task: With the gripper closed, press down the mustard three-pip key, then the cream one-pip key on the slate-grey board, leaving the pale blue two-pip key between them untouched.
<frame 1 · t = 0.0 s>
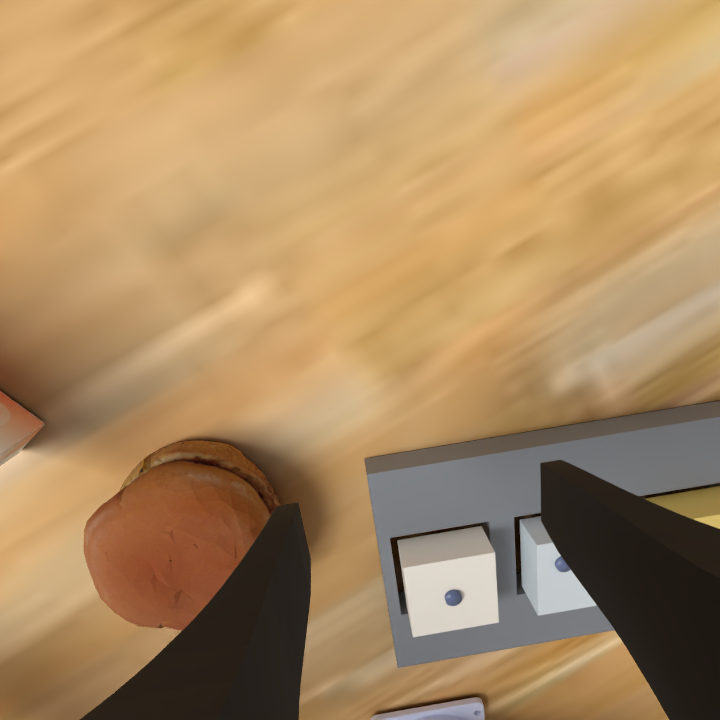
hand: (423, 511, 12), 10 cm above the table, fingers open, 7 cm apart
tile one: (448, 582, 22), point 2 cm above the table, slide at 0.0 cm
burger: (206, 511, 23), on the table
tile three: (693, 540, 23), point 2 cm above the table, slide at 0.0 cm
board: (548, 530, 25), on the table
tile two: (571, 561, 23), point 2 cm above the table, slide at 0.0 cm
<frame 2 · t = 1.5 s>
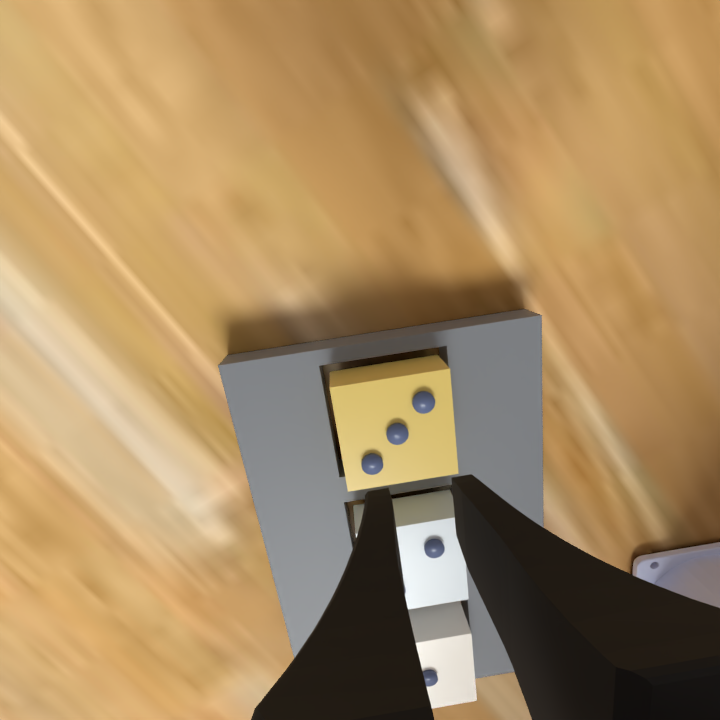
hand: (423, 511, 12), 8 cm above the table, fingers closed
tile one: (424, 658, 22), point 2 cm above the table, slide at 0.0 cm
tile three: (393, 423, 17), point 3 cm above the table, slide at 0.0 cm
board: (402, 518, 22), on the table
tile two: (410, 553, 20), point 3 cm above the table, slide at 0.0 cm
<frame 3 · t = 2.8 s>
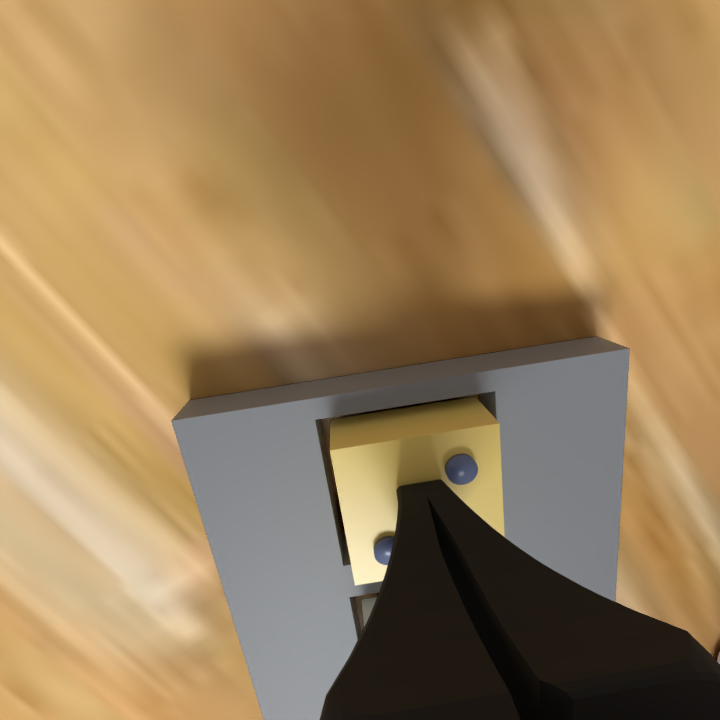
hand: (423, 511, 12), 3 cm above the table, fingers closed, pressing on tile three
tile three: (417, 490, 13), point 2 cm above the table, slide at 0.5 cm, touching gripper
board: (424, 605, 17), on the table
tile two: (439, 666, 14), point 3 cm above the table, slide at 0.0 cm
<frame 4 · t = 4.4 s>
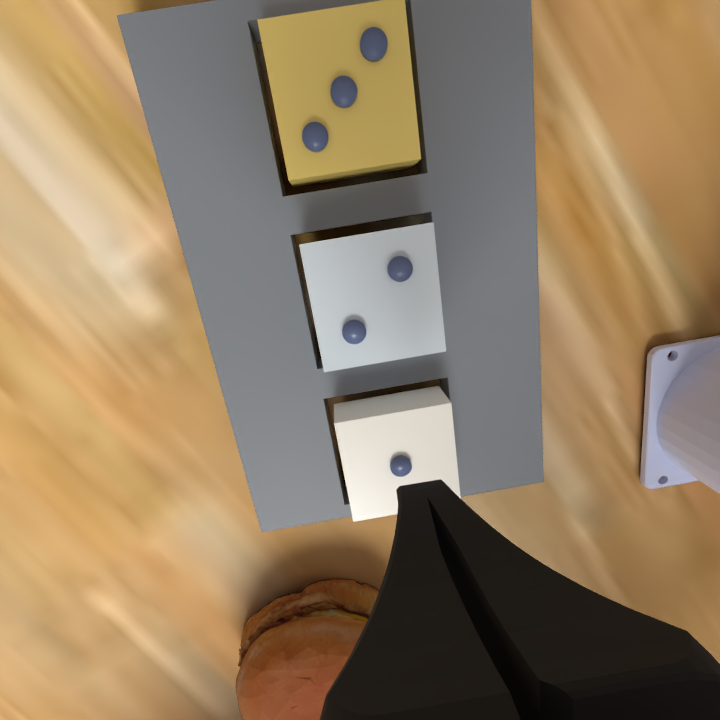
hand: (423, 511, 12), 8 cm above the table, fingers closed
tile one: (397, 453, 18), point 2 cm above the table, slide at 0.0 cm
burger: (328, 632, 24), on the table
tile three: (343, 101, 15), point 2 cm above the table, slide at 0.9 cm
board: (368, 289, 18), on the table
tile two: (373, 297, 16), point 2 cm above the table, slide at 0.0 cm
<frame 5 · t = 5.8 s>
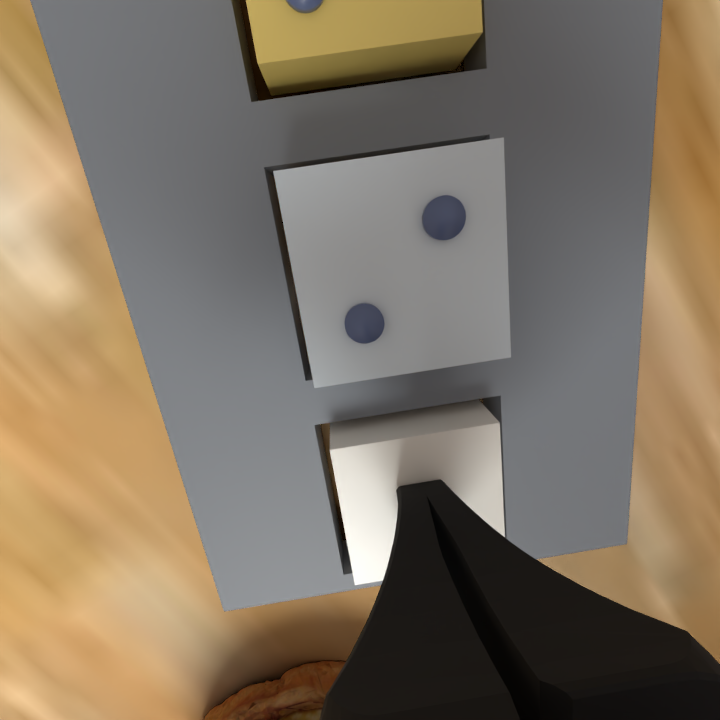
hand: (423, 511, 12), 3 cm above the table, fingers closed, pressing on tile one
tile one: (417, 490, 13), point 2 cm above the table, slide at 0.9 cm, touching gripper
board: (383, 262, 12), on the table
tile two: (396, 269, 10), point 2 cm above the table, slide at 0.0 cm
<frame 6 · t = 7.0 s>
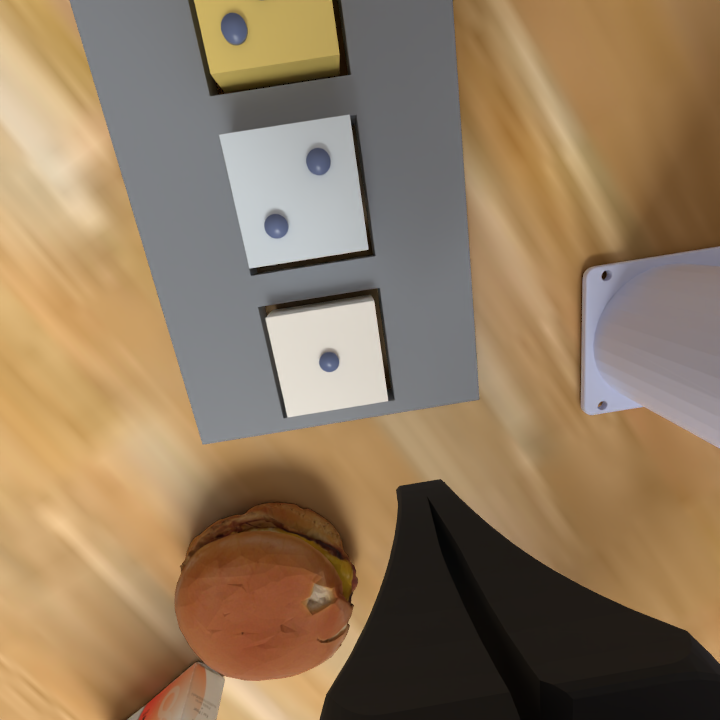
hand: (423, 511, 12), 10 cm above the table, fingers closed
tile one: (329, 355, 19), point 2 cm above the table, slide at 0.9 cm
burger: (273, 559, 25), on the table
board: (304, 202, 19), on the table
ink box: (170, 701, 28), on the table
tile two: (299, 197, 16), point 2 cm above the table, slide at 0.0 cm
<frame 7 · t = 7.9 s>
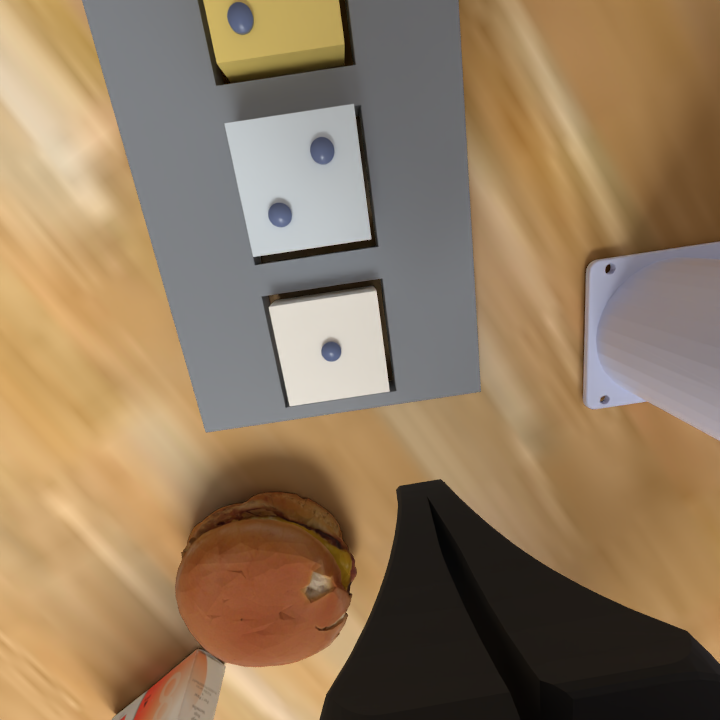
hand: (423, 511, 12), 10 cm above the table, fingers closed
tile one: (331, 345, 19), point 2 cm above the table, slide at 0.9 cm
burger: (274, 548, 25), on the table
board: (308, 192, 19), on the table
ink box: (172, 687, 28), on the table
tile two: (303, 186, 16), point 2 cm above the table, slide at 0.0 cm
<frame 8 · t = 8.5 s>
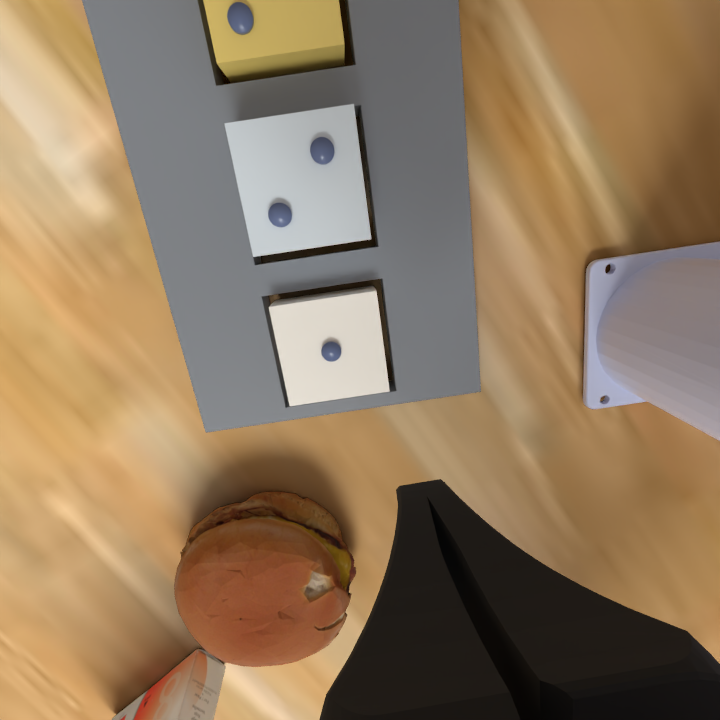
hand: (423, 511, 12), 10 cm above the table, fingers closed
tile one: (331, 345, 19), point 2 cm above the table, slide at 0.9 cm
burger: (273, 548, 25), on the table
board: (308, 192, 19), on the table
ink box: (172, 687, 28), on the table
tile two: (303, 186, 16), point 3 cm above the table, slide at 0.0 cm
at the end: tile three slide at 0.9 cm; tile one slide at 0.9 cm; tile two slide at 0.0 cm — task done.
